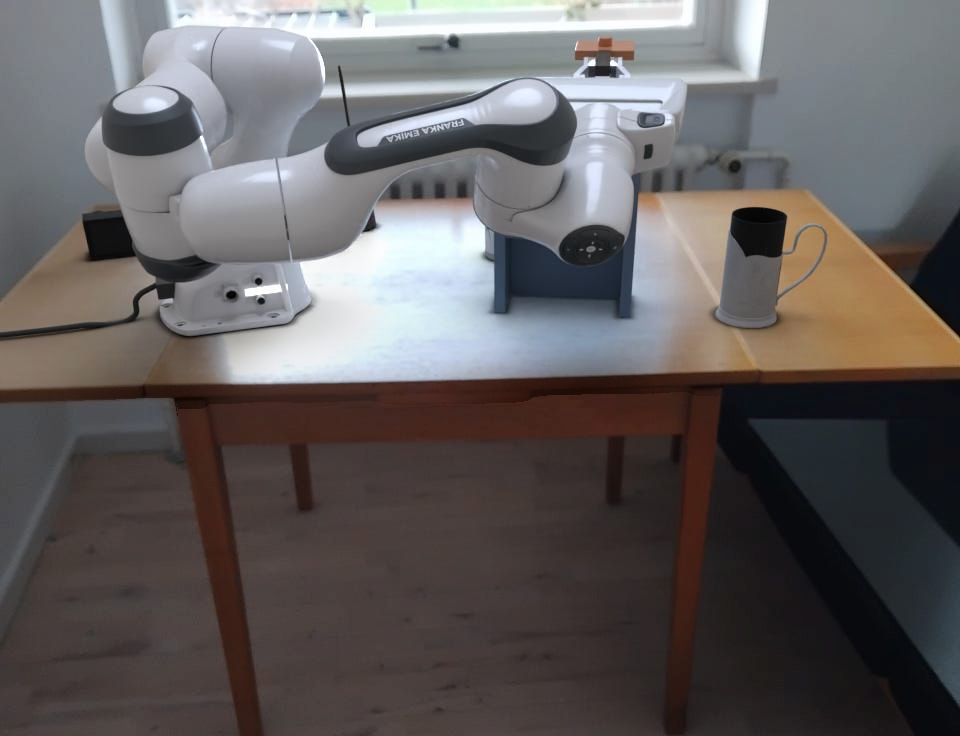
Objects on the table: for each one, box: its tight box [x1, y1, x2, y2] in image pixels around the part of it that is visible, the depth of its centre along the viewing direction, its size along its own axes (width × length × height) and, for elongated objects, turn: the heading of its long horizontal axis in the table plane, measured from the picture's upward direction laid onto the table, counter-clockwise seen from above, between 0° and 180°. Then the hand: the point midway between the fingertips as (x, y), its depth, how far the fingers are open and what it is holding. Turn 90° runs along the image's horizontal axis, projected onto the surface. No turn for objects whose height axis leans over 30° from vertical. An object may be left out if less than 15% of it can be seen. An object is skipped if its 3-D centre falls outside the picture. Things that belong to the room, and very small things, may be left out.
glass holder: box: [715, 206, 828, 329], centre depth 145 cm, size 9×14×15 cm, turn 88°
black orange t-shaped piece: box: [574, 35, 635, 77], centre depth 130 cm, size 18×8×2 cm, turn 173°
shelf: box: [493, 172, 641, 319], centre depth 147 cm, size 8×20×26 cm, turn 82°
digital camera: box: [81, 209, 136, 261], centre depth 175 cm, size 10×5×7 cm, turn 108°
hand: (603, 61), depth 125 cm, fingers closed on black orange t-shaped piece, 2 cm apart
